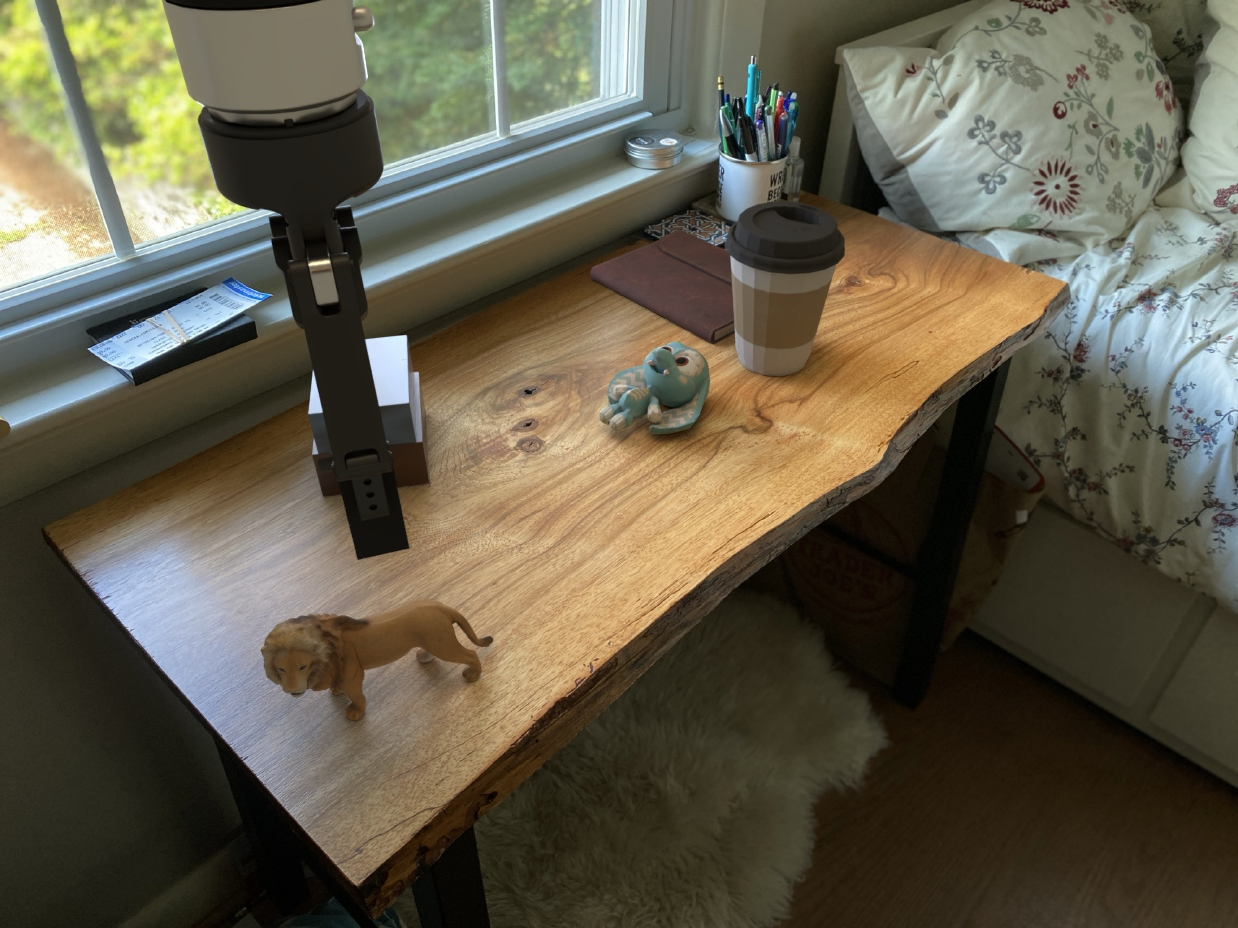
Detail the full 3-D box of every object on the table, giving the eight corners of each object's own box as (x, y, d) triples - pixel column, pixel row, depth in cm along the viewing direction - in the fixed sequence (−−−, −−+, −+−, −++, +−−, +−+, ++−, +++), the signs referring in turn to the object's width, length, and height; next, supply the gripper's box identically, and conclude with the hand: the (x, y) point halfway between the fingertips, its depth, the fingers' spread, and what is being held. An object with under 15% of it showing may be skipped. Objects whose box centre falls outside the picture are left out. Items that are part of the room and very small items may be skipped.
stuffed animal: (562, 364, 85) (659, 302, 90) (576, 421, 90) (667, 359, 95) (638, 417, 79) (738, 346, 83) (649, 474, 84) (743, 405, 88)
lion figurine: (299, 763, 59) (265, 672, 53) (276, 704, 63) (242, 613, 57) (509, 667, 65) (498, 576, 59) (477, 618, 68) (464, 528, 63)
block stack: (322, 496, 79) (301, 415, 74) (328, 422, 88) (309, 344, 82) (429, 483, 81) (415, 402, 75) (425, 411, 89) (412, 334, 84)
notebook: (710, 345, 98) (712, 328, 97) (590, 280, 110) (590, 264, 109) (802, 298, 106) (805, 283, 105) (681, 242, 118) (681, 227, 116)
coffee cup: (847, 353, 97) (871, 217, 88) (790, 402, 90) (809, 259, 81) (755, 319, 103) (768, 187, 93) (694, 362, 96) (702, 224, 86)
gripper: (414, 191, 32) (475, 608, 46) (343, 22, 51) (401, 353, 64) (185, 221, 31) (317, 646, 44) (198, 34, 49) (289, 372, 62)
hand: (367, 473), depth 54 cm, fingers open, 13 cm apart
